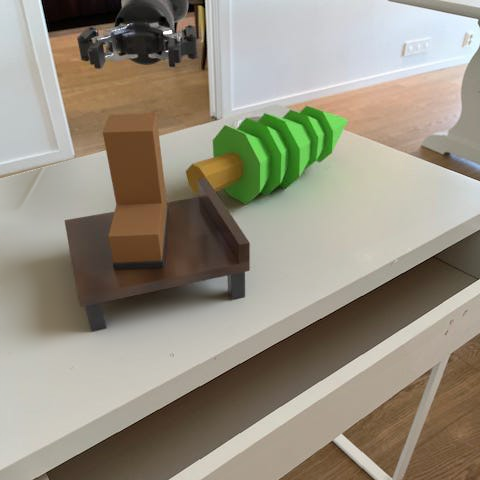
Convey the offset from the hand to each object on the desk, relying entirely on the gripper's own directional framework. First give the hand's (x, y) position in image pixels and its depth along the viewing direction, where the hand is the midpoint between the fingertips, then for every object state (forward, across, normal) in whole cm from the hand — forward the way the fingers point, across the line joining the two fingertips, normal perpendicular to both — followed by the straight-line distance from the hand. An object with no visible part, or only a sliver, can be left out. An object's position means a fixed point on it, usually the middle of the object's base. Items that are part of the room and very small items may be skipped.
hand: (134, 58), depth 58 cm
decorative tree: (-9, +19, +20) cm, 29 cm away
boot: (+14, 0, +16) cm, 21 cm away
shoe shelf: (+14, +1, +20) cm, 25 cm away
